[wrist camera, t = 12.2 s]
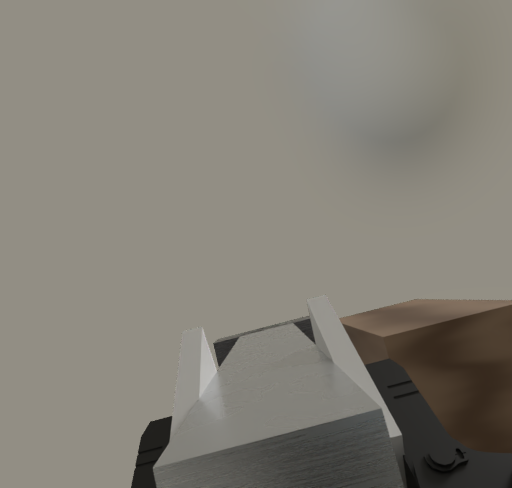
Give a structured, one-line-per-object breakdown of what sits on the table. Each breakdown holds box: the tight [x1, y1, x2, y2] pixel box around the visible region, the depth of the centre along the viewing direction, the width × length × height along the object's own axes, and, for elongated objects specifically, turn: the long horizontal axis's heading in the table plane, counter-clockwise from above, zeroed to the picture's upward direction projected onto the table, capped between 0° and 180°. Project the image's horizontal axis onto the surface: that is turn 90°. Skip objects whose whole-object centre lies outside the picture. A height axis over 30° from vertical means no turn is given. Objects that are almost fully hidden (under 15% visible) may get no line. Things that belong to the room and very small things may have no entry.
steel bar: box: [153, 316, 404, 488], centre depth 19 cm, size 8×26×4 cm, turn 179°
